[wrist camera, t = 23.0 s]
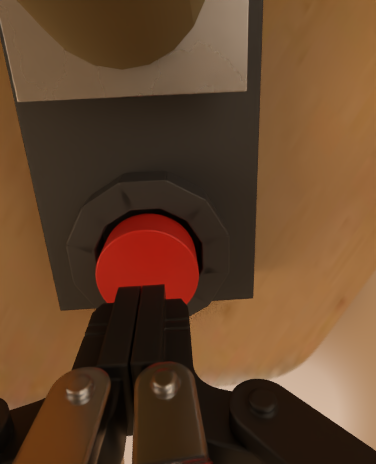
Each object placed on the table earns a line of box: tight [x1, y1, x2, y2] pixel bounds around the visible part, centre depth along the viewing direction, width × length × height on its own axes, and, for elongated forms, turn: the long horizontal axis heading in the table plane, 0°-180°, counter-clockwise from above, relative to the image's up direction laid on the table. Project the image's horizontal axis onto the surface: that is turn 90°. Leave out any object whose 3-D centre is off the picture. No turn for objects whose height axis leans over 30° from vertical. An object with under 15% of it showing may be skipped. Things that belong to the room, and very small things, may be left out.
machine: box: [0, 0, 263, 316], centre depth 14 cm, size 18×10×4 cm, turn 2°
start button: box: [95, 213, 199, 305], centre depth 14 cm, size 4×4×2 cm
